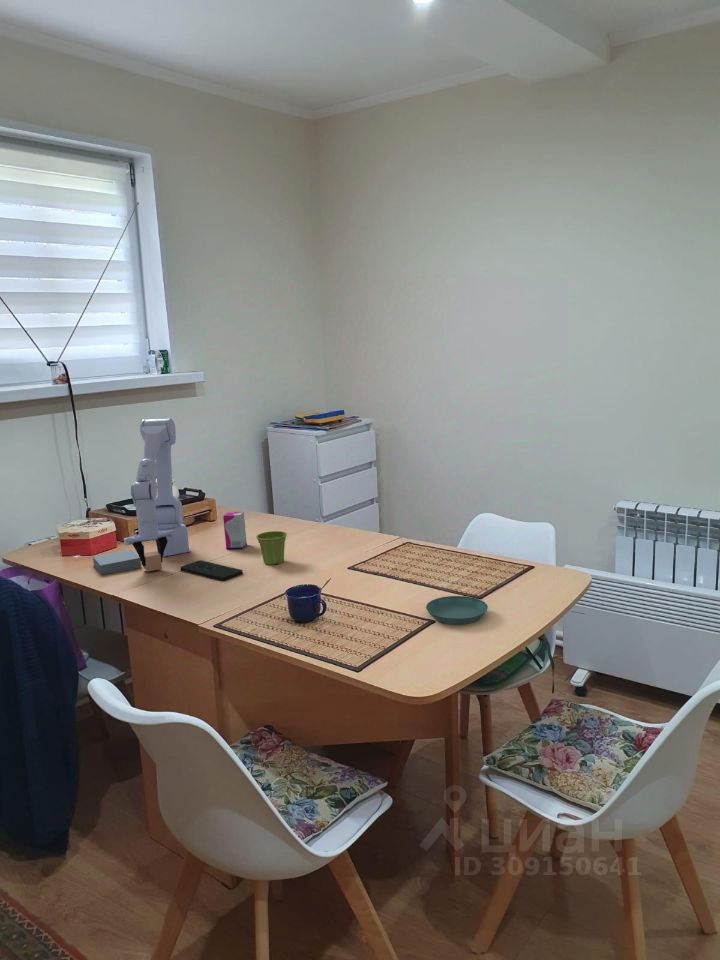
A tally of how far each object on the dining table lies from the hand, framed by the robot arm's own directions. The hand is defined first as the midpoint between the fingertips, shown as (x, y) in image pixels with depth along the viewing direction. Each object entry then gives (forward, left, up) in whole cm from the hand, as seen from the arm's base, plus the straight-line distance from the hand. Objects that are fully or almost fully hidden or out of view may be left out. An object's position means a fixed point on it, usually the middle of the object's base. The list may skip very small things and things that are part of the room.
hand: (152, 563), depth 230 cm
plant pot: (-33, +16, -2) cm, 37 cm away
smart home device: (-14, +13, -3) cm, 19 cm away
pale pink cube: (0, 0, -2) cm, 2 cm away
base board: (+8, -12, -2) cm, 15 cm away
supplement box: (-30, -8, -2) cm, 31 cm away
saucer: (-51, +85, -3) cm, 99 cm away
